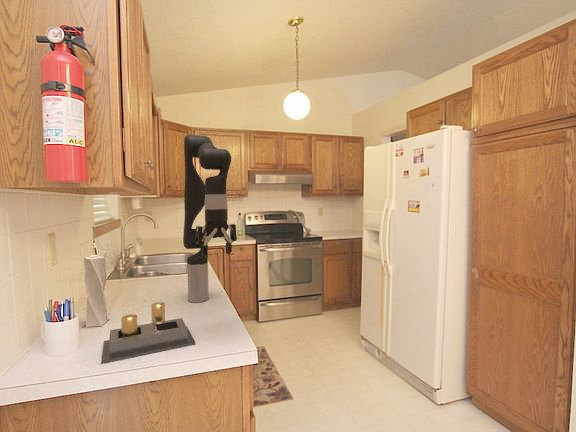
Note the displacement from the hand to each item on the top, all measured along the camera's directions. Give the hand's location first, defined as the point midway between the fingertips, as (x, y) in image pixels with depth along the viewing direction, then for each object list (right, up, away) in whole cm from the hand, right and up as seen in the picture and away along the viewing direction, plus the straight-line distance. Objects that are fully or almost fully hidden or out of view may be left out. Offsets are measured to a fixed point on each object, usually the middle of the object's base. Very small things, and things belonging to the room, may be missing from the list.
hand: (217, 255), depth 110 cm
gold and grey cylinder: (-22, -27, +6) cm, 36 cm away
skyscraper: (-47, -28, +11) cm, 56 cm away
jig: (-20, -28, -7) cm, 35 cm away
